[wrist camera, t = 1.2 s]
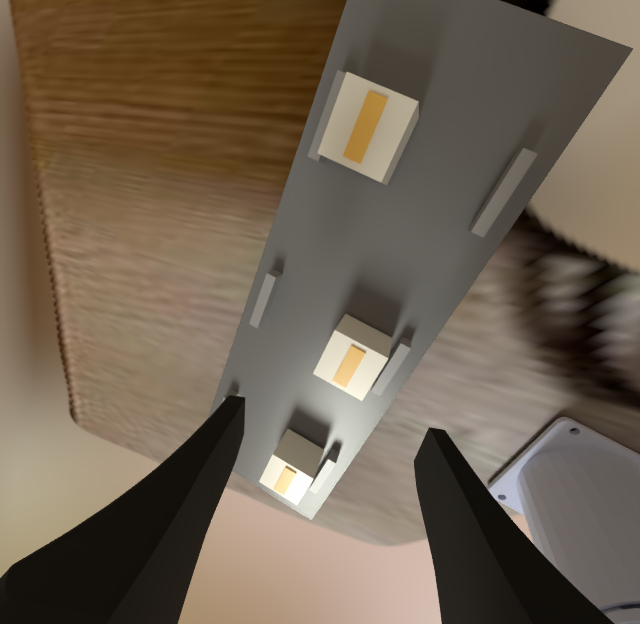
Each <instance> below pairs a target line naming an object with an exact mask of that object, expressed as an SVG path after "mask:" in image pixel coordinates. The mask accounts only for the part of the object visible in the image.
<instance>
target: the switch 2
mask: <svg viewBox="0 0 640 624" xmlns="http://www.w3.org/2000/svg"><path fill="white" fill-rule="evenodd" d="M418 119H419V101H416V100H414V99H411V98H409V97H407V96H404V95H402V94H399V93H397V92H395V91H392V90H390V89H388V88H385V87H383V86H380V85H378V84H376V83H373V82H371V81H368V80H366V79H364V78H361V77H359V76H356V75H354V74H352V73H349V72H346V75H345V78H344V81H343V83H342V86H341V89H340V92H339V94H338V97H337V100H336V103H335V106H334V108H333V111H332V114H331V117H330V119H329V122H328V125H327V128H326V131H325V133H324V136H323V139H322V142H321V144H320V147H319V150H318V154H320V155H322V156H324V157H326V158H329V159H331V160H333V161H335V162H337V163H339V164H342V165H344V166H346V167H348V168H350V169H352V170H355V171H357V172H359V173H361V174H363V175H366V176H368V177H370V178H372V179H374V180H376V181H379V182H381V183H383V184H385V185H388V182H389V180H390V178H391V176H392V174H393V172H394V170H395V168H396V165H397V163H398V161H399V159H400V157H401V155H402V153H403V151H404V149H405V146H406V144H407V142H408V140H409V138H410V136H411V134H412V132H413V129H414V127H415V125H416V123H417V121H418Z"/></svg>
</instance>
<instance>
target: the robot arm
mask: <svg viewBox="0 0 640 624" xmlns="http://www.w3.org/2000/svg"><path fill="white" fill-rule="evenodd" d="M244 426H245V397H239V396H233V395H229V396H228V397H227V398H226V399H225V400H224V401H223V402H222V404H221V405H220V406H219V407H218V408H217V409H216V410H215V412H214V413H213V414H212V415H211V416H210V417H209V418H208V419H207V420H206V421H205V423H204V424H203V425H202V426H201V427H200V428H199V429H198V430H197V431H196V432H195V433H194V434H193V435H192V436H191V437H190V438H189V439H188V440H187V441H186V442H185V443H184V444H183V445H181V446H180V447H179V448H178V449H177V450H176V451H175V452H174V453H173V454H172V455H171V456H170V457H168V458H167V459H166V460H165V461H164V462H163V463H162V464H160V465H159V466H158V467H157V468H156V469H155V470H153V471H152V472H151V473H150V474H149V475H147V476H146V477H145V478H144V479H142V480H141V481H140V482H138V483H137V484H136V485H135V486H133V487H132V488H131V489H129V490H128V491H127V492H125V493H124V494H123V495H121V496H120V497H119V498H117V499H116V500H114V501H113V502H112V503H111V504H109V505H107V506H106V507H105V508H103V509H102V510H100V511H99V512H97V513H96V514H94V515H93V516H91V517H90V518H88V519H87V520H85V521H84V522H82V523H81V524H79V525H78V526H76V527H75V528H73V529H72V530H70V531H69V532H67V533H65V534H63V535H62V536H61V537H59V538H57V539H55V540H54V541H52V542H50V543H49V544H47V545H45V546H44V547H42V548H40V549H38V550H37V551H35V552H33V553H32V554H30V555H28V556H27V557H25V558H23V559H22V560H20V561H18V562H16V563H15V564H13V565H12V566H11V567H10V568H9V569H8V571H7V572H6V573H5V574H4V575H3V576H2V577H1V578H0V624H178V620H179V617H180V614H181V611H182V607H183V604H184V601H185V597H186V594H187V591H188V588H189V585H190V581H191V579H192V575H193V572H194V569H195V565H196V563H197V560H198V557H199V553H200V550H201V548H202V544H203V541H204V538H205V535H206V532H207V530H208V527H209V525H210V522H211V519H212V517H213V515H214V512H215V510H216V507H217V505H218V503H219V500H220V498H221V495H222V493H223V491H224V488H225V486H226V484H227V481H228V479H229V476H230V474H231V472H232V469H233V467H234V464H235V462H236V459H237V456H238V453H239V450H240V446H241V443H242V440H243V436H244ZM572 428H577V429H576V430H574V431H570V429H572ZM414 468H415V478H416V487H417V493H418V497H419V502H420V506H421V511H422V515H423V520H424V524H425V528H426V533H427V537H428V541H429V545H430V550H431V554H432V559H433V564H434V569H435V576H436V583H437V590H438V597H439V604H440V612H441V620H442V624H640V454H638V453H636V452H634V451H632V450H630V449H628V448H626V447H624V446H623V445H621V444H619V443H617V442H615V441H613V440H611V439H609V438H607V437H605V436H603V435H601V434H599V433H597V432H596V431H594V430H592V429H590V428H588V427H586V426H584V425H582V424H580V423H578V422H576V421H574V420H572V419H571V418H568V417H561V418H558V419H557V420H555V421H554V422H553V423H552V424H551V425H550V426H549V427H548V428H547V429H546V430H545V431H544V432H543V433H542V434H541V435H540V436H539V437H538V438H537V439H536V440H535V441H534V442H533V443H531V444H530V445H529V446H528V447H527V448H526V449H525V450H524V451H523V452H522V453H521V454H520V455H519V456H518V457H517V458H516V459H515V460H514V461H513V462H512V463H511V464H510V465H509V466H507V467H506V468H505V469H504V470H503V471H502V472H501V473H500V474H499V475H498V476H497V477H496V478H495V479H494V480H493V481H492V482H491V483H490V484H489V485H488V486H487V488H486V487H485V486H484V484H483V483H482V482H481V480H480V479H479V478H478V476H477V475H476V474H475V472H474V471H473V469H472V468H471V467H470V465H469V464H468V462H467V461H466V460H465V458H464V457H463V455H462V454H461V453H460V451H459V450H458V448H457V447H456V445H455V444H454V443H453V441H452V440H451V438H450V437H449V435H448V434H447V433H446V431H445V430H442V429H435V428H429V429H428V431H427V433H426V435H425V438H424V440H423V442H422V444H421V447H420V449H419V451H418V453H417V455H416V458H415V460H414ZM500 494H503V495H500ZM495 499H496V500H497V501H499V502H501V503H503V504H504V505H506V506H508V507H510V508H511V509H513V510H515V511H517V512H518V513H520V514H522V515H524V516H525V518H526V521H527V524H528V527H529V530H530V533H531V536H532V539H533V542H534V544H533V543H532V542H531V541H530V540H529V539H528V538H527V536H526V535H525V534H524V533H523V532H522V531H521V530H520V529H519V528H518V526H517V525H516V524H515V523H514V522H513V521H512V520H511V518H510V517H509V516H508V515H507V513H506V512H505V511H504V510H503V508H502V507H501V506H500V505H499V503H498V502H497V501H496V500H495Z"/></svg>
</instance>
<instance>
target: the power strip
mask: <svg viewBox="0 0 640 624" xmlns="http://www.w3.org/2000/svg"><path fill="white" fill-rule="evenodd" d="M632 50H633V48H630V47H627V46H625V45H621V44H619V43H616V42H613V41H610V40H608V39H605V38H602V37H600V36H597V35H594V34H591V33H589V32H586V31H583V30H580V29H577V28H575V27H572V26H569V25H567V24H563V23H561V22H558V21H556V20H553V19H550V18H547V17H545V16H542V15H539V14H536V13H533V12H531V11H528V10H525V9H522V8H520V7H517V6H514V5H511V4H509V3H506V2H503V1H500V0H347V2H346V5H345V8H344V11H343V14H342V17H341V20H340V23H339V26H338V29H337V32H336V35H335V38H334V41H333V44H332V47H331V50H330V53H329V56H328V59H327V62H326V65H325V68H324V71H323V74H322V77H321V80H320V83H319V86H318V89H317V92H316V95H315V98H314V101H313V104H312V107H311V110H310V113H309V116H308V119H307V122H306V125H305V128H304V131H303V134H302V137H301V140H300V143H299V146H298V149H297V152H296V155H295V158H294V161H293V164H292V167H291V170H290V173H289V176H288V180H287V183H286V186H285V189H284V192H283V195H282V198H281V201H280V204H279V207H278V210H277V213H276V216H275V219H274V222H273V225H272V228H271V231H270V234H269V237H268V240H267V243H266V246H265V249H264V252H263V255H262V258H261V261H260V264H259V267H258V270H257V273H256V276H255V279H254V282H253V285H252V288H251V291H250V294H249V297H248V300H247V303H246V306H245V309H244V312H243V315H242V318H241V321H240V324H239V327H238V330H237V333H236V336H235V339H234V342H233V345H232V348H231V351H230V354H229V357H228V360H227V363H226V366H225V369H224V372H223V375H222V378H221V381H220V384H219V387H218V390H217V393H216V396H215V399H214V402H213V405H212V408H211V411H210V414H209V417H210V416H211V415H212V414H213V413H214V412H215V410H216V409H217V408H218V407H219V406H220V405H221V404H222V402H223V401H224V400H225V399H226V398H227V397H228V396H229V395H233V396H239V397H245V426H244V436H243V440H242V443H241V446H240V450H239V453H238V456H237V459H236V462H235V464H234V467H233V469H232V471H233V472H235V473H237V474H238V475H240V476H241V477H243V478H245V479H246V480H248V481H249V482H251V483H253V484H254V485H256V486H257V487H259V488H261V489H262V490H264V491H265V492H267V493H269V494H270V495H272V496H273V497H275V498H277V499H278V500H280V501H281V502H283V503H285V504H286V505H288V506H289V507H291V508H293V509H294V510H296V511H297V512H299V513H301V514H302V515H304V516H305V517H307V518H309V519H310V520H312V518H313V517H314V515H315V514H316V513H317V511H318V510H319V508H320V507H321V505H322V504H323V502H324V501H325V499H326V498H327V496H328V495H329V493H330V492H331V491H332V489H333V488H334V486H335V485H336V483H337V482H338V480H339V479H340V477H341V476H342V474H343V473H344V472H345V470H346V469H347V467H348V466H349V464H350V463H351V461H352V460H353V458H354V457H355V455H356V454H357V452H358V451H359V450H360V448H361V447H362V445H363V444H364V442H365V441H366V439H367V438H368V436H369V435H370V433H371V432H372V431H373V429H374V428H375V426H376V425H377V423H378V422H379V420H380V419H381V417H382V416H383V414H384V413H385V411H386V410H387V409H388V407H389V406H390V404H391V403H392V401H393V400H394V398H395V397H396V395H397V394H398V392H399V391H400V390H401V388H402V387H403V385H404V384H405V382H406V381H407V379H408V378H409V376H410V375H411V373H412V372H413V370H414V369H415V368H416V366H417V365H418V363H419V362H420V360H421V359H422V357H423V356H424V354H425V353H426V351H427V350H428V349H429V347H430V346H431V344H432V343H433V341H434V340H435V338H436V337H437V335H438V334H439V332H440V331H441V329H442V328H443V327H444V325H445V324H446V322H447V321H448V319H449V318H450V316H451V315H452V313H453V312H454V310H455V309H456V308H457V306H458V305H459V303H460V302H461V300H462V299H463V297H464V296H465V294H466V293H467V291H468V290H469V289H470V287H471V286H472V284H473V283H474V281H475V280H476V278H477V277H478V275H479V274H480V272H481V271H482V269H483V268H484V267H485V265H486V264H487V262H488V261H489V259H490V258H491V256H492V255H493V253H494V252H495V250H496V249H497V248H498V246H499V245H500V243H501V242H502V240H503V239H504V237H505V236H506V234H507V233H508V231H509V230H510V228H511V227H512V226H513V224H514V223H515V221H516V220H517V218H518V217H519V215H520V214H521V212H522V211H523V209H524V208H525V207H526V205H527V204H528V202H529V201H530V199H531V198H532V196H533V195H534V193H535V192H536V190H537V189H538V187H539V186H540V185H541V183H542V182H543V180H544V179H545V177H546V176H547V174H548V173H549V171H550V170H551V168H552V167H553V166H554V164H555V162H556V161H557V160H558V158H559V157H560V155H561V154H562V152H563V151H564V149H565V148H566V146H567V145H568V143H569V142H570V141H571V139H572V138H573V136H574V135H575V133H576V132H577V130H578V129H579V127H580V126H581V125H582V123H583V122H584V120H585V119H586V117H587V116H588V114H589V113H590V111H591V110H592V108H593V107H594V105H595V104H596V103H597V101H598V99H599V98H600V97H601V95H602V94H603V92H604V91H605V89H606V88H607V86H608V85H609V83H610V82H611V81H612V79H613V77H614V76H615V75H616V73H617V72H618V70H619V69H620V67H621V66H622V64H623V63H624V62H625V60H626V59H627V57H628V56H629V54H630V52H631V51H632ZM346 72H349V73H352V74H354V75H356V76H359V77H361V78H364V79H366V80H368V81H371V82H373V83H376V84H378V85H380V86H383V87H385V88H388V89H390V90H392V91H395V92H397V93H399V94H402V95H404V96H407V97H409V98H411V99H414V100H416V101H419V119H418V121H417V123H416V125H415V127H414V129H413V132H412V134H411V136H410V138H409V140H408V142H407V144H406V146H405V149H404V151H403V153H402V155H401V157H400V159H399V161H398V163H397V165H396V168H395V170H394V172H393V174H392V176H391V178H390V180H389V182H388V185H385V184H383V183H381V182H379V181H376V180H374V179H372V178H370V177H368V176H366V175H363V174H361V173H359V172H357V171H355V170H352V169H350V168H348V167H346V166H344V165H342V164H339V163H337V162H335V161H333V160H331V159H329V158H326V157H324V156H322V155H320V154H318V150H319V147H320V144H321V142H322V139H323V136H324V133H325V131H326V128H327V125H328V122H329V119H330V117H331V114H332V111H333V108H334V106H335V103H336V100H337V97H338V94H339V92H340V89H341V86H342V83H343V81H344V78H345V75H346ZM345 314H348V315H349V316H351V317H353V318H355V319H357V320H359V321H361V322H363V323H365V324H367V325H368V326H370V327H372V328H374V329H376V330H378V331H380V332H382V333H384V334H386V335H388V336H389V337H391V338H393V339H392V344H391V349H390V354H389V359H388V360H387V362H386V363H385V365H384V367H383V368H382V370H381V371H380V373H379V375H378V376H377V378H376V379H375V381H374V383H373V384H372V386H371V388H370V389H369V391H368V392H367V394H366V396H365V397H364V399H363V400H362V401H361V400H359V399H357V398H355V397H354V396H352V395H350V394H348V393H346V392H345V391H343V390H341V389H339V388H337V387H336V386H334V385H332V384H330V383H328V382H327V381H325V380H323V379H321V378H320V377H318V376H316V375H314V374H313V372H314V370H315V368H316V366H317V364H318V362H319V360H320V358H321V356H322V354H323V352H324V350H325V348H326V346H327V344H328V342H329V340H330V338H331V336H332V334H333V332H334V330H335V329H336V327H337V326H338V324H339V323H340V321H341V320H342V318H343V317H344V315H345ZM209 417H208V418H209ZM287 429H290V430H291V431H293V432H295V433H296V434H298V435H300V436H302V437H303V438H305V439H307V440H308V441H310V442H312V443H313V444H315V445H317V446H319V447H320V448H322V449H324V453H323V456H322V458H321V461H320V463H319V466H318V469H317V471H316V474H315V476H314V479H313V481H312V482H311V484H310V485H309V487H308V489H307V490H306V492H305V493H304V495H303V497H302V498H301V500H300V501H299V503H298V505H295V504H294V503H292V502H290V501H289V500H287V499H286V498H284V497H282V496H281V495H279V494H278V493H276V492H274V491H273V490H271V489H270V488H268V487H266V486H265V485H263V484H262V483H260V482H259V481H260V479H261V477H262V475H263V473H264V471H265V469H266V467H267V465H268V463H269V461H270V459H271V457H272V455H273V453H274V451H275V449H276V448H277V446H278V444H279V442H280V441H281V439H282V437H283V436H284V434H285V432H286V430H287Z"/></svg>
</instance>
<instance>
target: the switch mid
mask: <svg viewBox="0 0 640 624" xmlns="http://www.w3.org/2000/svg"><path fill="white" fill-rule="evenodd" d="M392 339H393V338H391V337H389V336H388V335H386V334H384V333H382V332H380V331H378V330H376V329H374V328H372V327H370V326H368V325H367V324H365V323H363V322H361V321H359V320H357V319H355V318H353V317H351V316H349V315H348V314H345V315H344V317H343V318H342V320H341V321H340V323H339V324H338V326H337V327H336V329H335V330H334V332H333V334H332V336H331V338H330V340H329V342H328V344H327V346H326V348H325V350H324V352H323V354H322V356H321V358H320V360H319V362H318V364H317V366H316V368H315V370H314V372H313V374H314V375H316V376H318V377H320V378H321V379H323V380H325V381H327V382H328V383H330V384H332V385H334V386H336V387H337V388H339V389H341V390H343V391H345V392H346V393H348V394H350V395H352V396H354V397H355V398H357V399H359V400H361V401H362V400H363V399H364V397H365V396H366V394H367V392H368V391H369V389H370V388H371V386H372V384H373V383H374V381H375V379H376V378H377V376H378V375H379V373H380V371H381V370H382V368H383V367H384V365H385V363H386V362H387V360H388V359H389V354H390V349H391V344H392Z"/></svg>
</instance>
